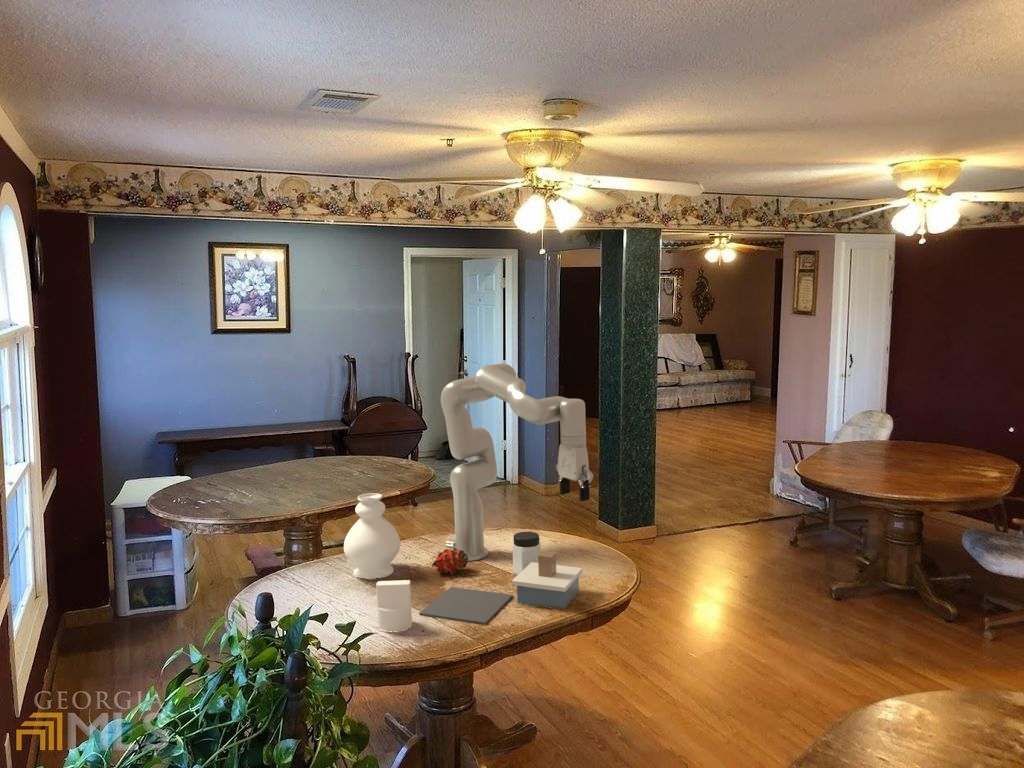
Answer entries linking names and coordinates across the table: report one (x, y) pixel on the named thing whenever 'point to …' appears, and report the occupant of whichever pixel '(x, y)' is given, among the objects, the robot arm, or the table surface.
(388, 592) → the cylinder with rectangular tab
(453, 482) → the robot arm
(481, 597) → the mat
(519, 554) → the jar
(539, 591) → the open square box
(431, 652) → the table surface
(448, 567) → the dragon fruit
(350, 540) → the decorative vase
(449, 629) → the table surface
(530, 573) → the lid
